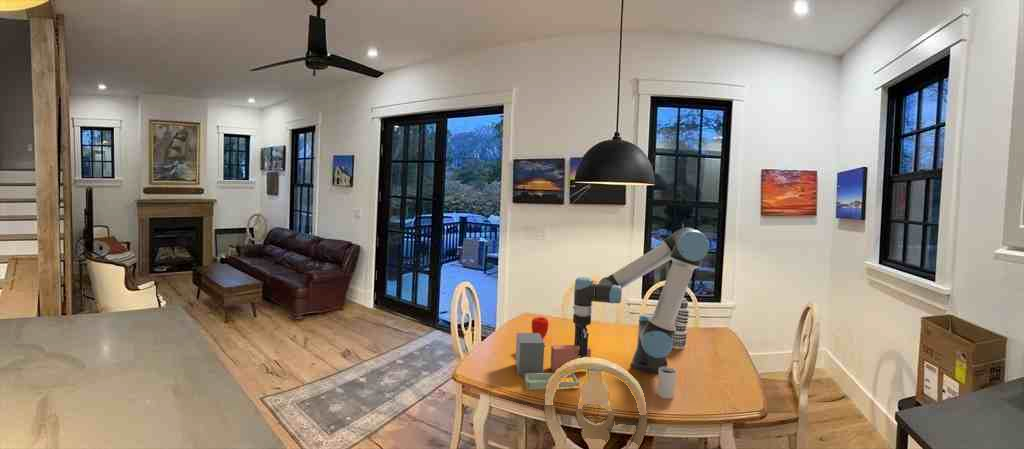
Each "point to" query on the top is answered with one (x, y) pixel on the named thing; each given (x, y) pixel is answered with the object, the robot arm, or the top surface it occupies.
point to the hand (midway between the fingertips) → (579, 367)
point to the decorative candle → (681, 326)
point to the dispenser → (529, 353)
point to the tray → (545, 380)
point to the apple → (540, 326)
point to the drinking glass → (666, 382)
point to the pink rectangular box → (564, 355)
